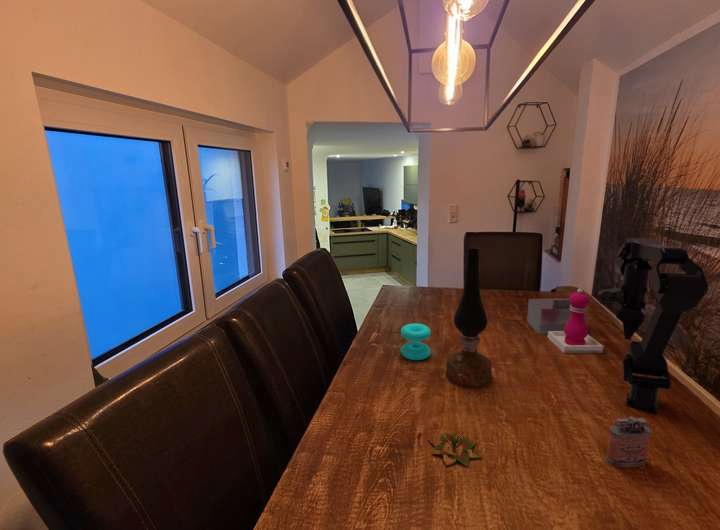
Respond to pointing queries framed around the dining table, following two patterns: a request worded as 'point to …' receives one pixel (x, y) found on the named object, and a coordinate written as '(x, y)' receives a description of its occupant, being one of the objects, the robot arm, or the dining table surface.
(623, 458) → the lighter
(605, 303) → the robot arm
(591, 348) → the tray
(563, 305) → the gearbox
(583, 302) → the pepper mill
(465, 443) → the green leafy cluster
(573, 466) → the dining table surface
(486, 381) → the oil lamp
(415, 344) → the turquoise spool
